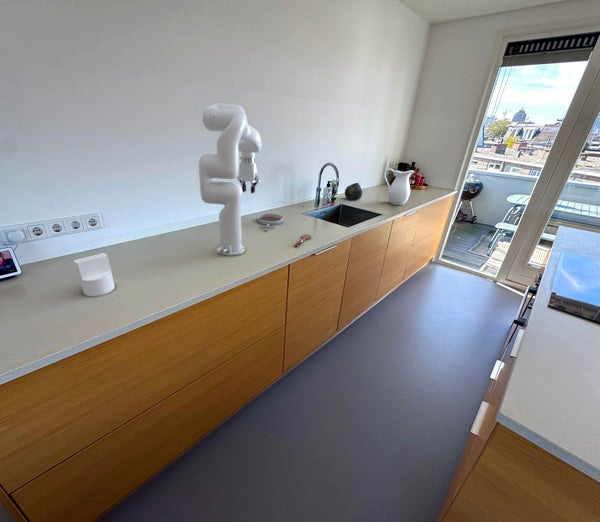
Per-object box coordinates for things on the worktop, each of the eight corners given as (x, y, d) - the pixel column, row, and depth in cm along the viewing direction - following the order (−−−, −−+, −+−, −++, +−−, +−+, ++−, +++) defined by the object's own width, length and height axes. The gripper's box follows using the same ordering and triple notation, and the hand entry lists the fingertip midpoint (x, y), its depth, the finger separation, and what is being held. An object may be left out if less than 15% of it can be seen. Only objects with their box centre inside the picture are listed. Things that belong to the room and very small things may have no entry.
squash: (338, 191, 245) (351, 180, 235) (347, 190, 256) (359, 179, 246) (347, 205, 243) (360, 194, 233) (356, 203, 254) (368, 192, 244)
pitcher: (409, 203, 247) (417, 170, 235) (404, 207, 234) (412, 172, 222) (382, 198, 258) (388, 166, 246) (376, 202, 245) (382, 168, 232)
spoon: (300, 248, 143) (300, 245, 142) (291, 246, 145) (291, 243, 144) (312, 237, 158) (312, 234, 158) (303, 235, 160) (304, 232, 159)
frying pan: (250, 226, 160) (258, 211, 185) (250, 231, 161) (258, 216, 186) (280, 229, 160) (284, 213, 185) (280, 233, 161) (284, 218, 186)
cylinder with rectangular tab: (108, 280, 105) (101, 250, 100) (119, 289, 100) (111, 258, 95) (79, 289, 98) (69, 257, 93) (89, 299, 94) (79, 266, 88)
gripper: (231, 159, 162) (232, 191, 170) (258, 162, 157) (257, 195, 165) (238, 158, 168) (239, 189, 176) (264, 161, 163) (264, 193, 171)
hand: (248, 191), depth 170 cm, fingers open, 5 cm apart
